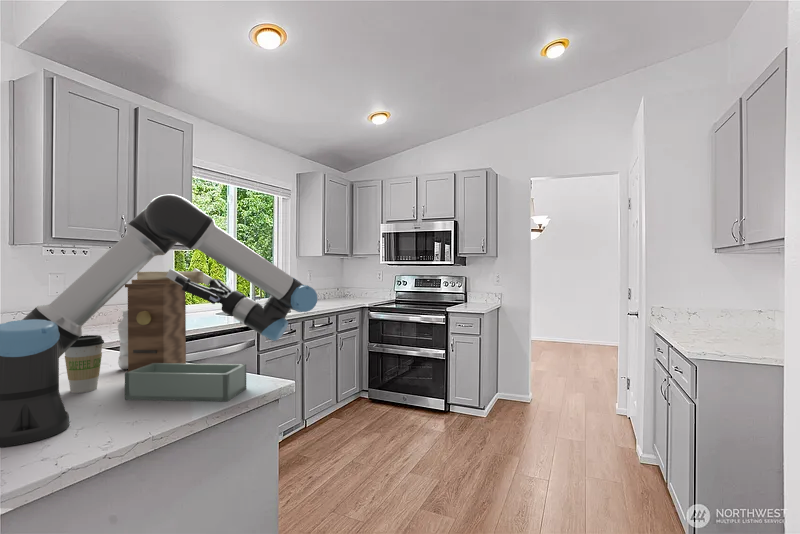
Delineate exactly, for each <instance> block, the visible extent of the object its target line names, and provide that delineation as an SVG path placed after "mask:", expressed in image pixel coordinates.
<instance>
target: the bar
mask: <svg viewBox="0 0 800 534" xmlns="http://www.w3.org/2000/svg"><path fill="white" fill-rule="evenodd" d="M176 271H177V270H176ZM168 272H169V270H168V271H160V270H159V271H155V270H154V271H149V270H147V271H139V272H138V273H137V274H136V278H137V279H136V280H171V279H169V278H167V277H166V275H167V273H168ZM177 272H178V273H180V274H182V275H183V276H185V277H187V278H190V279H191V280H190V281H192V282H194V283H197V284H204V283H203V273H204V271H202V270H200V271H193V270H192V271H189V270H188V271H187V270H185V271H177ZM172 284H177V283H176V282H174V281H172Z"/></svg>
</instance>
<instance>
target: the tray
mask: <svg viewBox="0 0 800 534" xmlns="http://www.w3.org/2000/svg"><path fill="white" fill-rule="evenodd" d="M246 389H247V364H246V363H244V364H243V363H187V362H186V363H152V364H149V365H146V366H143V367H140V368H138V369H135V370H132V371H129V372H128V371H127V372H125V373H124V400H126V401H127V400H130V401H132V400H138V401H139V400H140V401H143V400H144V401H180V402H182V401H194V402H195V401H196V402H199V401H200V402H229V401H230V400H232V399H233V398H235V397H236V396H237V395H239V394H241V393H242V392H243V391H245V390H246Z"/></svg>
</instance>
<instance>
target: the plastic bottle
mask: <svg viewBox="0 0 800 534" xmlns="http://www.w3.org/2000/svg"><path fill="white" fill-rule="evenodd" d="M121 317H122V319H121V320H120V322H119V323H118V324H117V330H118V336H119V337H118V338H119V356H118V362H117V365H118V367H119V369H121V370H127V369H128V309H127V310H123V311H122V315H121Z"/></svg>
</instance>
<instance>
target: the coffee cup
mask: <svg viewBox="0 0 800 534" xmlns="http://www.w3.org/2000/svg"><path fill="white" fill-rule="evenodd" d="M104 344H105V341H104V339H103V337H102V335H100V334H99V335H98V334H90V335H89V334H88V335H82V336H81V337H80V338H79V339H78V340H77V341H76V342H75V343H74V344H72V345H71V346H70V347H69V348H68V349H67V350H66V351H65V352H64V362H65V368H66V373H67V380H68V383H69V392H70V393H73V394H82V393H89V392H93V391H95V390H97V389H98V381H99V376H100V371H101V365H102V364H101V363H102V357H103V356H102V355H103V352H102V350H103V345H104Z"/></svg>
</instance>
